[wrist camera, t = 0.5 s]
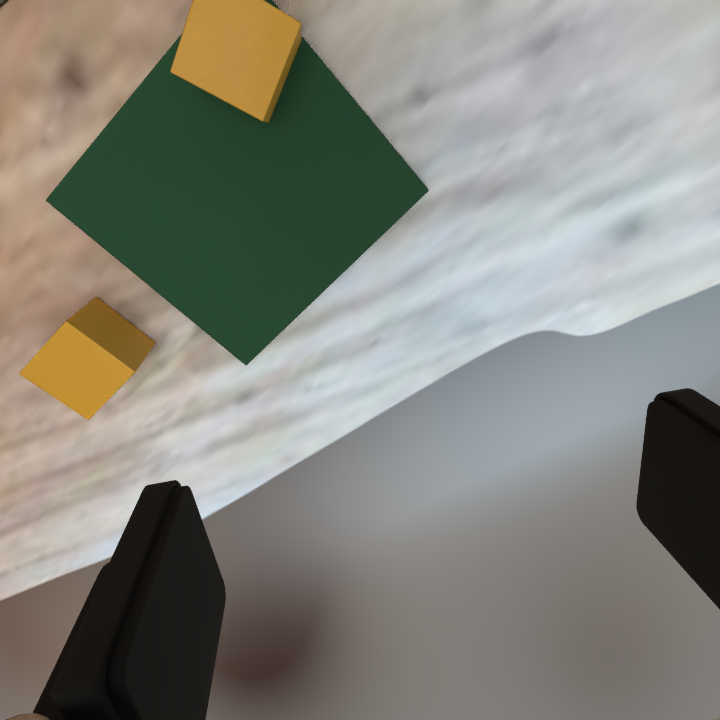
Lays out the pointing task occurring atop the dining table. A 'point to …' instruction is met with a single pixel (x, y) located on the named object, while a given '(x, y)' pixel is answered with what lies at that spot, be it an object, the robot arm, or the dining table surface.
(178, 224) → the towel
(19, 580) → the dining table surface
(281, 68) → the yellow block
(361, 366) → the dining table surface
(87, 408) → the yellow block
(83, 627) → the robot arm
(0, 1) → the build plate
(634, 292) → the dining table surface
